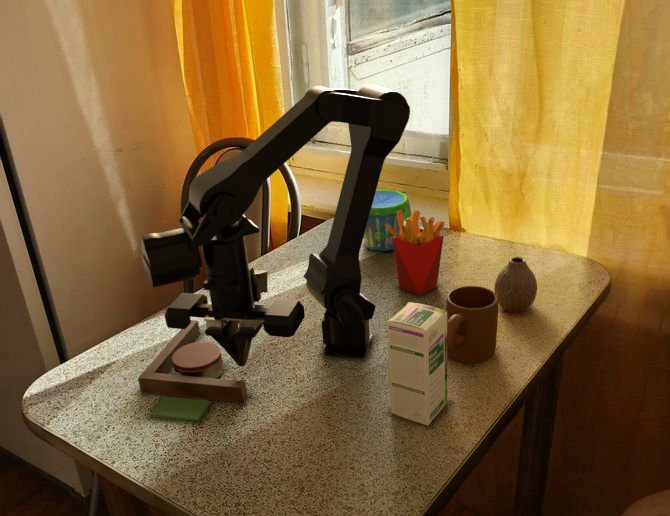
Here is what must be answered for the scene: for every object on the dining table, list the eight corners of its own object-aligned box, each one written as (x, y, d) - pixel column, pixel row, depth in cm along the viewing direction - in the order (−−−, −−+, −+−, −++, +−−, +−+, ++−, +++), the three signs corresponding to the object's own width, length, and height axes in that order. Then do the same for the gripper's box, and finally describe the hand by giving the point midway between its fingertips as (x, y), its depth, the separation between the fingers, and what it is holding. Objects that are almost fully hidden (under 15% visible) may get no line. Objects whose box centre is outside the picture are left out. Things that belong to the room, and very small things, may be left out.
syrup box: (428, 427, 86) (428, 330, 79) (388, 413, 89) (385, 319, 82) (447, 403, 90) (449, 309, 84) (409, 391, 93) (408, 299, 87)
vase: (489, 313, 111) (491, 266, 107) (498, 295, 117) (500, 249, 113) (531, 319, 109) (535, 271, 105) (538, 300, 115) (542, 254, 110)
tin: (231, 360, 102) (228, 342, 101) (213, 388, 96) (209, 369, 95) (187, 357, 104) (184, 339, 102) (167, 384, 97) (163, 365, 96)
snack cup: (369, 264, 130) (367, 215, 126) (337, 248, 138) (334, 201, 133) (427, 241, 139) (427, 194, 134) (393, 227, 146) (392, 183, 142)
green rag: (210, 403, 93) (210, 401, 93) (198, 421, 89) (198, 419, 89) (164, 398, 94) (164, 396, 94) (150, 416, 91) (150, 414, 91)
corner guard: (281, 340, 107) (280, 326, 106) (243, 402, 93) (241, 388, 91) (191, 332, 110) (188, 319, 109) (141, 392, 96) (137, 377, 95)
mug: (471, 386, 94) (473, 328, 89) (422, 372, 97) (422, 315, 93) (503, 345, 102) (506, 291, 98) (457, 333, 106) (459, 280, 102)
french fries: (416, 275, 125) (415, 199, 118) (451, 288, 120) (452, 209, 113) (383, 291, 120) (381, 213, 113) (419, 306, 115) (418, 224, 108)
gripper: (311, 246, 94) (319, 340, 102) (189, 240, 99) (206, 331, 106) (286, 282, 85) (297, 383, 92) (152, 274, 89) (174, 371, 96)
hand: (242, 364), depth 97 cm, fingers closed
